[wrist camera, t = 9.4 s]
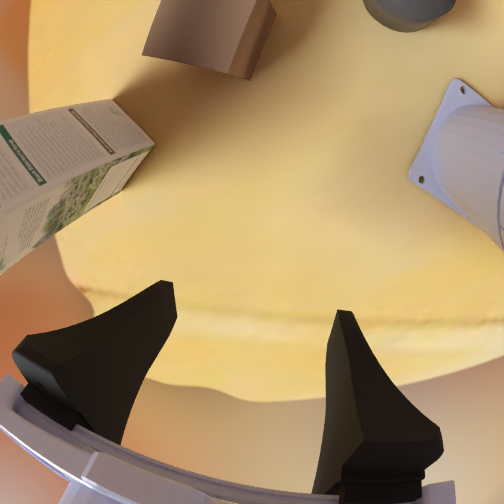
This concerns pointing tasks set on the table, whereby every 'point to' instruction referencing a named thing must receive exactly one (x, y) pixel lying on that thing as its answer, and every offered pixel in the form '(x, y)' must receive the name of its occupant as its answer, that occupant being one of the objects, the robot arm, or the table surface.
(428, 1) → the charcoal cylinder
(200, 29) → the walnut block
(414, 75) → the table surface
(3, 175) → the syrup box
